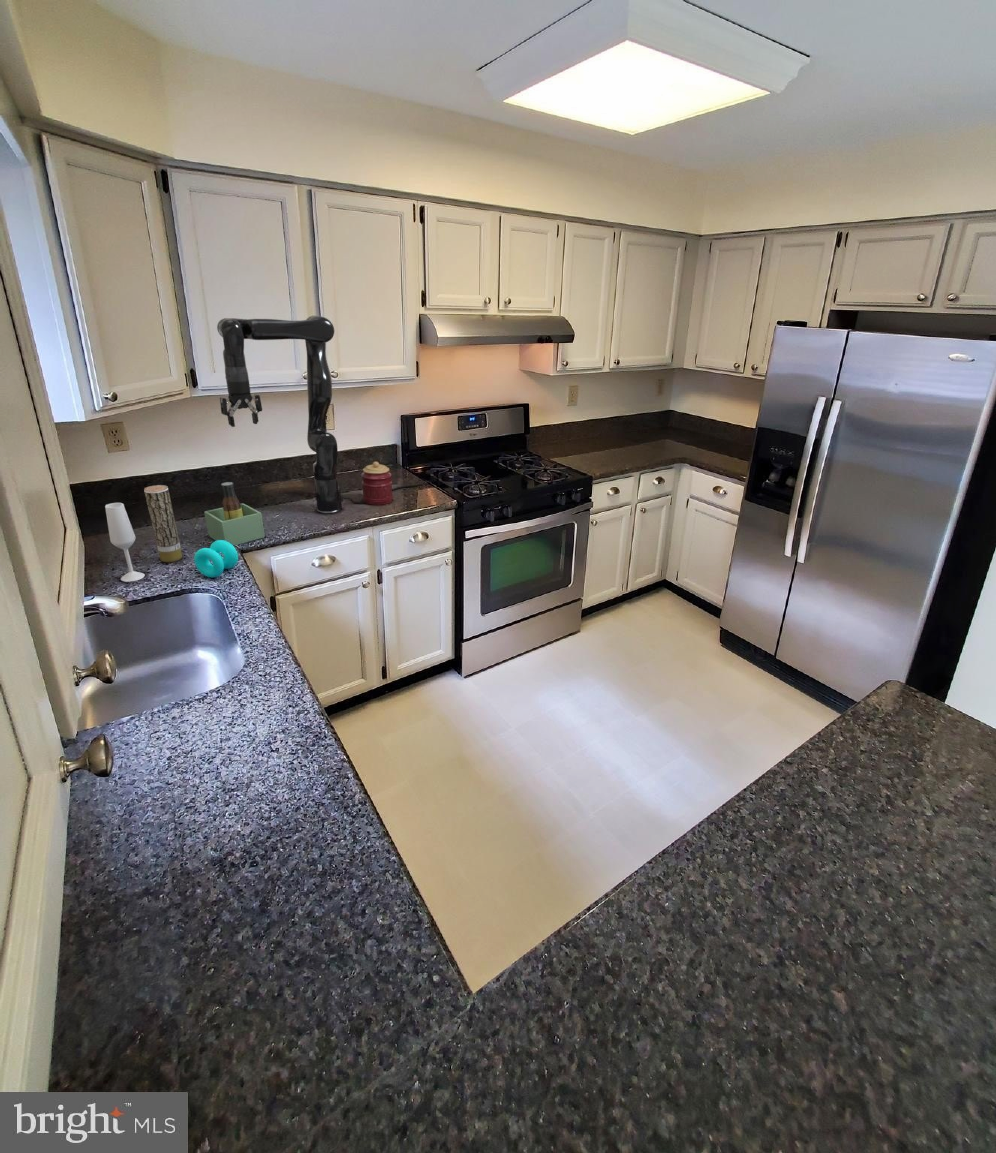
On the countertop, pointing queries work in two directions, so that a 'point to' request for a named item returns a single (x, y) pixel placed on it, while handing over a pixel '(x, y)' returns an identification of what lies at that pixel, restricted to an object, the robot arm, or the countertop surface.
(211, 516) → the bin
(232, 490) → the sauce bottle
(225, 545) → the turquoise yo-yo
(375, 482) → the kitchen canister
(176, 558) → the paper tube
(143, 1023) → the countertop surface
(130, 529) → the champagne flute
